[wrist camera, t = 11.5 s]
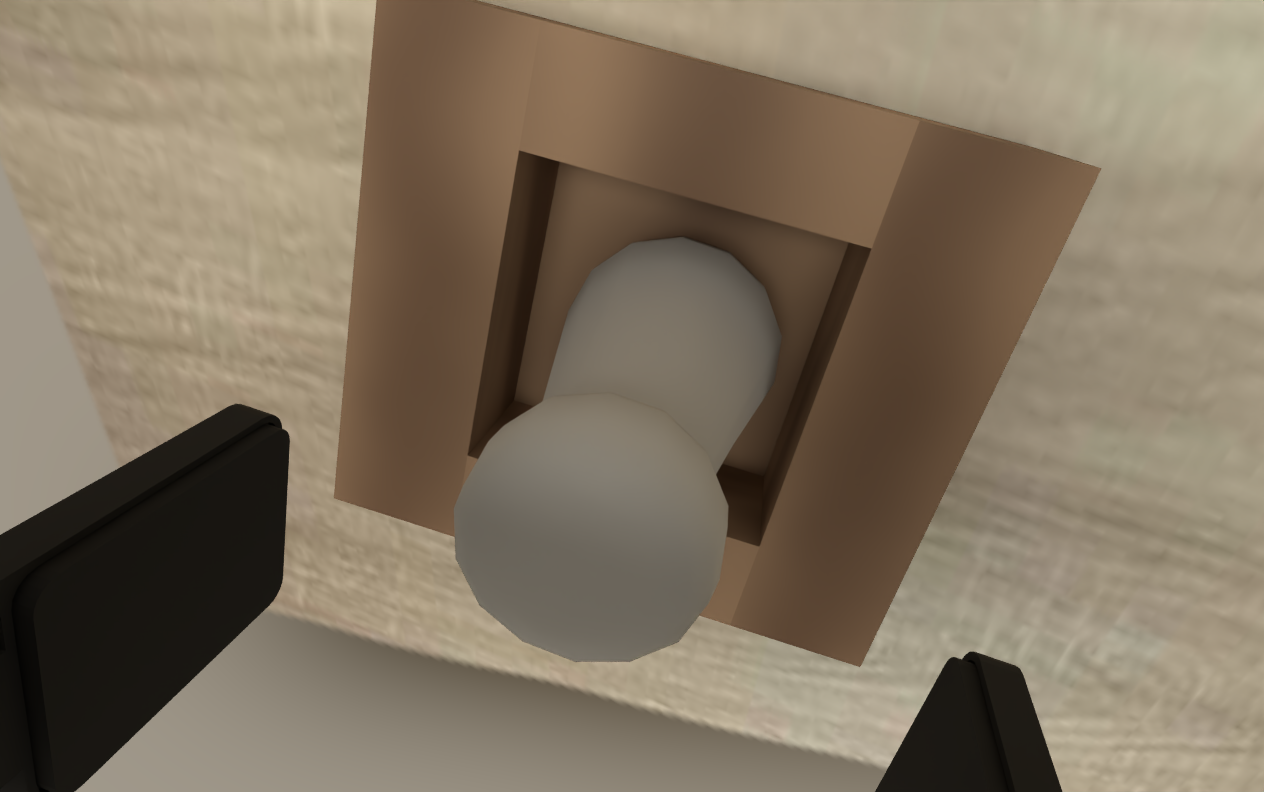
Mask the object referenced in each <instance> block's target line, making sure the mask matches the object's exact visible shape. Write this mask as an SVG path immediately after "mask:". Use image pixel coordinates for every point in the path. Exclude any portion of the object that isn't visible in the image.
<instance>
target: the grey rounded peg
mask: <svg viewBox="0 0 1264 792" xmlns="http://www.w3.org/2000/svg"><path fill="white" fill-rule="evenodd" d="M781 339H782V336H781V333H780V330H779V327H778V324H777V321H776V318H775V315H774V312H773V309H772V306H771V304H770V301H769V298H768V295H767V292H766V289H765V287H764V286H763V285H762V284H761V283H760V282H759V281H758V280H757V279H756V278H755V277H754V276H753V275H752V274H751V273H750V272H749V271H748V270H747V269H746V268H745V267H744V266H743V265H742V264H741V263H740V262H739V261H738V260H737V259H736V258H735V257H734V256H733V255H732V254H731V253H730V252H728V251H725V250H722V249H719V248H716V247H713V246H711V245H708V244H705V243H702V242H699V241H696V240H693V239H690V238H687V237H684V236H683V237H674V238H666V239H657V240H649V241H640V242H634V243H631V244H630V245H628V246H627V247H625V248H624V249H622V250H621V251H619V252H618V253H616V254H615V255H613V256H612V257H610V258H609V259H607V260H606V261H604V262H603V263H601V264H600V265H599V266H597V267H596V268H594V269H593V270H592V271H591V272H590V274H589V276H588V277H587V279H586V281H585V283H584V284H583V286H582V288H581V290H580V291H579V293H578V295H577V297H576V298H575V300H574V302H573V304H572V305H571V307H570V309H569V311H568V314H567V318H566V321H565V325H564V328H563V332H562V335H561V339H560V342H559V346H558V349H557V353H556V356H555V359H554V363H553V366H552V370H551V373H550V377H549V380H548V384H547V387H546V391H545V394H544V398H543V401H542V402H541V403H539V404H538V405H536V406H534V407H533V408H531V409H530V410H528V411H526V412H525V413H523V414H521V415H520V416H518V417H517V418H515V419H513V420H512V421H510V422H509V423H507V424H505V425H504V426H503V427H502V428H501V429H500V430H499V431H498V432H497V433H496V434H495V435H494V436H493V437H492V438H491V439H490V440H489V441H488V443H487V445H486V446H485V448H484V450H483V452H482V453H481V455H480V457H479V459H478V460H477V462H476V464H475V466H474V467H473V469H472V471H471V473H470V474H469V476H468V478H467V480H466V481H465V483H464V485H463V487H462V490H461V492H460V494H459V497H458V499H457V502H456V504H455V507H454V528H455V553H456V560H457V562H458V564H459V566H460V568H461V570H462V572H463V574H464V576H465V578H466V580H467V582H468V584H469V585H470V587H471V589H472V591H473V593H474V595H475V597H476V599H477V601H478V603H479V605H480V606H481V607H482V608H483V609H485V610H486V611H487V612H488V613H489V614H490V615H492V616H493V617H494V618H495V619H496V620H498V621H499V622H500V623H501V624H502V625H504V626H505V627H506V628H507V629H508V630H510V631H511V632H512V633H513V634H514V635H516V636H517V637H518V638H519V639H520V640H522V641H523V642H526V643H528V644H531V645H533V646H536V647H539V648H541V649H544V650H546V651H549V652H551V653H554V654H557V655H559V656H562V657H564V658H567V659H569V660H572V661H575V662H630V661H633V660H635V659H638V658H640V657H642V656H645V655H647V654H650V653H652V652H655V651H657V650H660V649H662V648H665V647H667V646H670V645H672V644H674V643H677V642H679V640H680V639H681V638H682V636H683V635H684V634H685V633H686V631H687V630H688V629H689V628H690V626H691V625H692V624H693V623H694V621H695V620H696V619H697V617H698V616H699V615H700V614H701V612H702V611H703V610H704V609H705V607H706V606H707V605H708V603H709V602H710V599H711V597H712V595H713V593H714V591H715V589H716V586H717V584H718V582H719V580H720V574H721V567H722V561H723V554H724V548H725V541H726V535H727V528H728V504H727V501H726V499H725V496H724V494H723V491H722V489H721V486H720V484H719V481H718V479H717V476H716V473H717V472H718V470H719V468H720V467H721V465H722V463H723V462H724V460H725V458H726V456H727V455H728V453H729V451H730V450H731V448H732V446H733V444H734V443H735V441H736V440H737V438H738V437H739V435H740V434H741V432H742V431H743V429H744V428H745V426H746V425H747V423H748V422H749V420H750V419H751V417H752V416H753V414H754V413H755V411H756V410H757V408H758V407H759V405H760V404H761V402H762V401H763V399H764V397H765V396H766V394H767V393H768V391H769V390H770V388H771V387H772V385H773V384H774V382H775V376H776V370H777V364H778V358H779V351H780V345H781Z"/></svg>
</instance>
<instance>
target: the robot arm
mask: <svg viewBox="0 0 1264 792" xmlns="http://www.w3.org/2000/svg"><path fill="white" fill-rule="evenodd" d="M289 445H290V439H289V434H288V432H287V431H286V430H284V429H282V424H281V422H280V419H279V418H278V417H276V416H275V415H272V414H269V413H266V412H263V411H260V410H257V409H254V408H251V407H248V406H245V405H242V404H234V405H231V406H229V407H227V408H225V409H224V410H222V411H220V412H218V413H216V414H215V415H213V416H211V417H209V418H207V419H206V420H204V421H202V422H200V423H199V424H197V425H195V426H193V427H191V428H190V429H188V430H186V431H184V432H183V433H181V434H179V435H177V436H175V437H174V438H172V439H170V440H168V441H167V442H165V443H163V444H161V445H159V446H158V447H156V448H154V449H152V450H151V451H149V452H147V453H145V454H143V455H142V456H140V457H138V458H136V459H134V460H133V461H131V462H129V463H127V464H126V465H124V466H122V467H120V468H118V469H117V470H115V471H113V472H111V473H110V474H108V475H106V476H104V477H102V478H101V479H99V480H97V481H95V482H94V483H92V484H90V485H88V486H86V487H85V488H83V489H81V490H79V491H78V492H76V493H74V494H72V495H70V496H69V497H67V498H65V499H63V500H62V501H60V502H58V503H56V504H54V505H53V506H51V507H49V508H47V509H45V510H44V511H42V512H40V513H39V514H37V515H35V516H33V517H31V518H29V519H28V520H26V521H24V522H22V523H21V524H19V525H17V526H15V527H13V528H12V529H10V530H8V531H6V532H5V533H3V534H1V535H0V792H74V791H76V790H77V789H78V788H79V787H81V786H82V785H83V784H84V783H85V782H86V781H87V780H88V779H89V778H90V777H91V776H92V775H93V774H94V773H96V772H97V771H98V770H99V769H100V768H101V767H102V766H103V765H104V764H105V763H106V762H107V761H108V760H109V759H110V758H111V757H112V756H113V755H114V754H115V753H116V752H117V751H118V750H119V749H120V748H122V746H124V745H125V743H127V742H128V741H129V740H130V739H131V738H132V737H133V736H134V735H135V734H136V733H137V732H138V731H139V730H140V729H141V728H142V727H143V726H144V725H145V724H146V723H147V722H149V721H150V720H151V719H152V717H154V716H155V715H156V714H157V713H158V712H159V711H160V710H161V709H162V708H163V707H164V706H165V705H166V704H167V703H168V702H169V701H170V700H171V699H172V698H173V697H174V696H176V695H177V694H178V693H179V692H180V691H181V689H183V688H184V687H185V686H186V685H187V684H188V683H189V682H190V681H191V680H192V679H193V678H194V677H195V676H196V675H197V674H198V673H199V672H200V671H201V670H202V669H204V668H205V667H206V665H208V664H209V663H210V662H211V661H212V660H213V659H214V658H215V657H216V656H217V655H218V654H219V653H220V652H221V651H222V650H223V649H224V648H225V647H226V646H227V645H228V644H230V643H231V642H232V641H233V640H234V639H235V638H236V637H237V636H238V635H239V634H240V633H241V632H242V631H243V630H244V629H245V628H246V627H247V626H248V625H249V624H250V623H251V622H252V621H253V620H254V619H256V618H257V617H258V616H259V615H260V614H261V613H262V612H263V611H264V610H265V609H266V608H267V607H268V606H269V605H270V604H271V603H272V602H273V600H274V599H275V597H276V596H277V594H278V592H279V590H280V587H281V584H282V580H283V566H284V546H285V526H286V505H287V485H288V465H289ZM875 792H1062V789H1061V786H1060V783H1059V780H1058V777H1057V774H1056V771H1055V768H1054V765H1053V763H1052V760H1051V757H1050V754H1049V751H1048V748H1047V745H1046V742H1045V739H1044V736H1043V733H1042V730H1041V727H1040V724H1039V721H1038V718H1037V715H1036V712H1035V709H1034V706H1033V703H1032V700H1031V697H1030V694H1029V691H1028V688H1027V685H1026V682H1025V679H1024V676H1023V674H1022V672H1021V670H1020V668H1018V667H1017V666H1015V665H1012V664H1009V663H1006V662H1003V661H1000V660H997V659H994V658H991V657H988V656H985V655H982V654H979V653H977V652H969V653H968V654H966V655H965V656H964V658H963V659H962V660H961V659H958V658H956V657H952V658H950V659H949V660H948V661H947V663H946V664H945V666H944V668H943V669H942V671H941V673H940V675H939V677H938V678H937V680H936V682H935V684H934V686H933V688H932V689H931V691H930V693H929V695H928V697H927V698H926V700H925V702H924V704H923V706H922V708H921V709H920V711H919V713H918V715H917V717H916V718H915V720H914V722H913V724H912V726H911V728H910V729H909V731H908V733H907V735H906V737H905V738H904V740H903V742H902V744H901V746H900V747H899V749H898V751H897V753H896V755H895V757H894V758H893V760H892V762H891V764H890V766H889V767H888V769H887V771H886V773H885V775H884V777H883V779H882V780H881V782H880V784H879V786H878V787H877V789H876V791H875Z"/></svg>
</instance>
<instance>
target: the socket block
mask: <svg viewBox="0 0 1264 792" xmlns="http://www.w3.org/2000/svg"><path fill="white" fill-rule="evenodd" d="M1100 170H1101V168H1098V167H1095V166H1091V165H1088V164H1085V163H1082V162H1079V161H1075V160H1072V159H1069V158H1066V157H1062V156H1059V155H1056V154H1053V153H1049V152H1046V151H1043V150H1040V149H1036V148H1033V147H1030V146H1026V145H1022V144H1018V143H1015V142H1011V141H1007V140H1003V139H999V138H996V137H992V136H988V135H984V134H980V133H977V132H973V131H969V130H965V129H962V128H958V127H954V126H950V125H946V124H943V123H939V122H935V121H931V120H927V119H924V118H920V117H916V116H912V115H909V114H905V113H901V112H897V111H893V110H890V109H886V108H882V107H878V106H875V105H871V104H867V103H863V102H859V101H856V100H852V99H848V98H844V97H840V96H837V95H833V94H829V93H825V92H822V91H818V90H814V89H810V88H806V87H803V86H799V85H795V84H791V83H788V82H784V81H780V80H776V79H772V78H769V77H765V76H761V75H757V74H753V73H750V72H746V71H742V70H738V69H735V68H731V67H727V66H723V65H719V64H716V63H712V62H708V61H704V60H700V59H697V58H693V57H689V56H685V55H682V54H678V53H674V52H670V51H666V50H663V49H659V48H655V47H651V46H648V45H644V44H640V43H636V42H632V41H629V40H625V39H621V38H617V37H613V36H610V35H606V34H602V33H598V32H595V31H591V30H587V29H583V28H579V27H576V26H572V25H568V24H564V23H561V22H557V21H553V20H549V19H545V18H542V17H538V16H534V15H530V14H526V13H523V12H519V11H515V10H511V9H508V8H504V7H500V6H496V5H492V4H489V3H485V2H481V1H477V0H377V2H376V13H375V25H374V37H373V48H372V60H371V72H370V83H369V95H368V107H367V118H366V130H365V142H364V153H363V165H362V177H361V188H360V200H359V212H358V223H357V235H356V247H355V258H354V270H353V282H352V293H351V305H350V317H349V328H348V340H347V352H346V363H345V375H344V387H343V398H342V410H341V422H340V433H339V445H338V457H337V468H336V480H335V492H334V498H335V499H338V500H342V501H345V502H348V503H351V504H354V505H357V506H360V507H363V508H366V509H370V510H373V511H376V512H379V513H382V514H385V515H388V516H391V517H394V518H398V519H401V520H404V521H407V522H410V523H413V524H416V525H419V526H423V527H426V528H429V529H432V530H435V531H438V532H441V533H444V534H447V535H451V536H454V537H455V528H454V507H455V504H456V502H457V499H458V497H459V494H460V492H461V490H462V487H463V485H464V483H465V481H466V480H467V478H468V476H469V474H470V473H471V471H472V469H473V467H474V466H475V464H476V462H477V460H478V459H479V457H480V455H481V453H482V452H483V450H484V448H485V446H486V445H487V443H488V441H489V440H490V439H491V438H492V437H493V436H494V435H495V434H496V433H497V432H498V431H499V430H500V429H501V428H502V427H503V426H504V425H505V424H507V423H509V422H510V421H512V420H513V419H515V418H517V417H518V416H520V415H521V414H523V413H525V412H526V411H528V410H530V409H531V408H533V407H534V406H536V405H538V404H539V403H541V402H542V401H543V398H544V394H545V391H546V387H547V384H548V380H549V377H550V373H551V370H552V366H553V363H554V359H555V356H556V353H557V349H558V346H559V342H560V339H561V335H562V332H563V328H564V325H565V321H566V318H567V314H568V311H569V309H570V307H571V305H572V304H573V302H574V300H575V298H576V297H577V295H578V293H579V291H580V290H581V288H582V286H583V284H584V283H585V281H586V279H587V277H588V276H589V274H590V272H591V271H592V270H593V269H594V268H596V267H597V266H599V265H600V264H601V263H603V262H604V261H606V260H607V259H609V258H610V257H612V256H613V255H615V254H616V253H618V252H619V251H621V250H622V249H624V248H625V247H627V246H628V245H630V244H631V243H634V242H640V241H649V240H657V239H666V238H674V237H683V236H684V237H687V238H690V239H693V240H696V241H699V242H702V243H705V244H708V245H711V246H713V247H716V248H719V249H722V250H725V251H728V252H730V253H731V254H732V255H733V256H734V257H735V258H736V259H737V260H738V261H739V262H740V263H741V264H742V265H743V266H744V267H745V268H746V269H747V270H748V271H749V272H750V273H751V274H752V275H753V276H754V277H755V278H756V279H757V280H758V281H759V282H760V283H761V284H762V285H763V286H764V287H765V289H766V292H767V295H768V298H769V301H770V304H771V306H772V309H773V312H774V315H775V318H776V321H777V324H778V327H779V330H780V333H781V336H782V339H781V345H780V351H779V358H778V364H777V370H776V376H775V382H774V384H773V385H772V387H771V388H770V390H769V391H768V393H767V394H766V396H765V397H764V399H763V401H762V402H761V404H760V405H759V407H758V408H757V410H756V411H755V413H754V414H753V416H752V417H751V419H750V420H749V422H748V423H747V425H746V426H745V428H744V429H743V431H742V432H741V434H740V435H739V437H738V438H737V440H736V441H735V443H734V444H733V446H732V448H731V450H730V451H729V453H728V455H727V456H726V458H725V460H724V462H723V463H722V465H721V467H720V468H719V470H718V472H717V473H716V476H717V479H718V481H719V484H720V486H721V489H722V491H723V494H724V496H725V499H726V501H727V504H728V528H727V535H726V541H725V548H724V554H723V561H722V567H721V574H720V580H719V582H718V584H717V586H716V589H715V591H714V593H713V595H712V597H711V599H710V602H709V603H708V605H707V606H706V607H705V609H704V610H703V611H702V612H701V614H700V616H703V617H706V618H709V619H712V620H715V621H718V622H722V623H725V624H728V625H731V626H734V627H737V628H740V629H743V630H747V631H750V632H753V633H756V634H759V635H762V636H765V637H768V638H771V639H775V640H778V641H781V642H784V643H787V644H790V645H793V646H796V647H799V648H803V649H806V650H809V651H812V652H815V653H818V654H821V655H824V656H828V657H831V658H834V659H837V660H840V661H843V662H846V663H849V664H852V665H856V666H859V667H860V666H861V664H862V662H863V660H864V658H865V656H866V654H867V652H868V650H869V648H870V646H871V644H872V642H873V640H874V638H875V635H876V633H877V631H878V629H879V627H880V625H881V623H882V621H883V619H884V617H885V615H886V613H887V611H888V609H889V607H890V604H891V602H892V600H893V598H894V596H895V594H896V592H897V590H898V588H899V586H900V584H901V582H902V580H903V578H904V575H905V573H906V571H907V569H908V567H909V565H910V563H911V561H912V559H913V557H914V555H915V553H916V551H917V549H918V547H919V544H920V542H921V540H922V538H923V536H924V534H925V532H926V530H927V528H928V526H929V524H930V522H931V520H932V518H933V516H934V513H935V511H936V509H937V507H938V505H939V503H940V501H941V499H942V497H943V495H944V493H945V491H946V489H947V487H948V485H949V482H950V480H951V478H952V476H953V474H954V472H955V470H956V468H957V466H958V464H959V462H960V460H961V458H962V456H963V454H964V451H965V449H966V447H967V445H968V443H969V441H970V439H971V437H972V435H973V433H974V431H975V429H976V427H977V425H978V423H979V420H980V418H981V416H982V414H983V412H984V410H985V408H986V406H987V404H988V402H989V400H990V398H991V396H992V394H993V391H994V389H995V387H996V385H997V383H998V381H999V379H1000V377H1001V375H1002V373H1003V371H1004V369H1005V367H1006V365H1007V363H1008V360H1009V358H1010V356H1011V354H1012V352H1013V350H1014V348H1015V346H1016V344H1017V342H1018V340H1019V338H1020V336H1021V334H1022V332H1023V329H1024V327H1025V325H1026V323H1027V321H1028V319H1029V317H1030V315H1031V313H1032V311H1033V309H1034V307H1035V305H1036V303H1037V301H1038V298H1039V296H1040V294H1041V292H1042V290H1043V288H1044V286H1045V284H1046V282H1047V280H1048V278H1049V276H1050V274H1051V272H1052V270H1053V267H1054V265H1055V263H1056V261H1057V259H1058V257H1059V255H1060V253H1061V251H1062V249H1063V247H1064V245H1065V243H1066V241H1067V239H1068V236H1069V234H1070V232H1071V230H1072V228H1073V226H1074V224H1075V222H1076V220H1077V218H1078V216H1079V214H1080V212H1081V210H1082V207H1083V205H1084V203H1085V201H1086V199H1087V197H1088V195H1089V193H1090V191H1091V189H1092V187H1093V185H1094V183H1095V181H1096V179H1097V176H1098V174H1099V172H1100Z"/></svg>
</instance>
